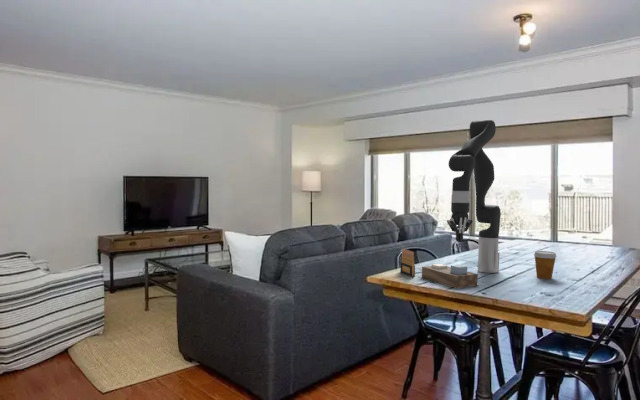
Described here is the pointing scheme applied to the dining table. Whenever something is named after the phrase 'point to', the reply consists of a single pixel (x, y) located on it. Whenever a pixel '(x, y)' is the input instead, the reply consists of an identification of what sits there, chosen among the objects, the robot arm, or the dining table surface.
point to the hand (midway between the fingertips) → (459, 241)
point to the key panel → (450, 277)
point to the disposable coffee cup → (544, 264)
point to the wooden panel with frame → (408, 263)
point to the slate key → (458, 269)
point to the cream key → (439, 266)
